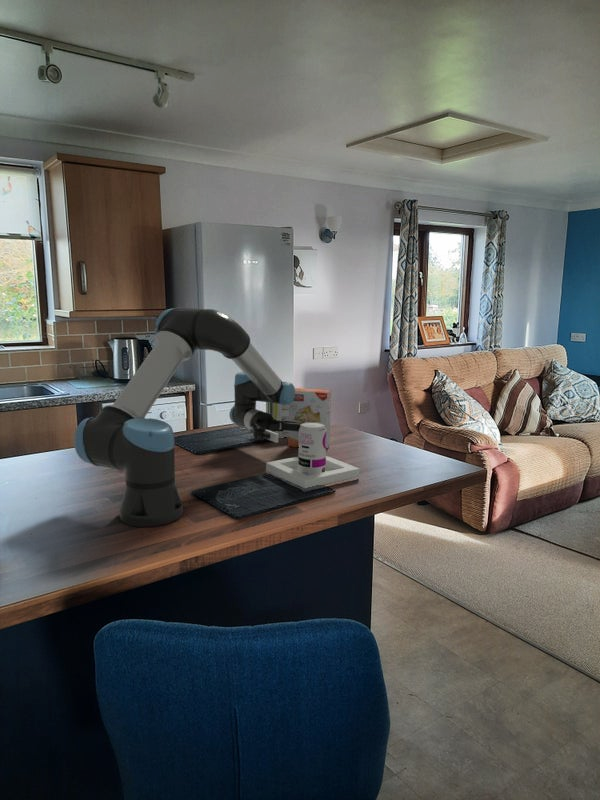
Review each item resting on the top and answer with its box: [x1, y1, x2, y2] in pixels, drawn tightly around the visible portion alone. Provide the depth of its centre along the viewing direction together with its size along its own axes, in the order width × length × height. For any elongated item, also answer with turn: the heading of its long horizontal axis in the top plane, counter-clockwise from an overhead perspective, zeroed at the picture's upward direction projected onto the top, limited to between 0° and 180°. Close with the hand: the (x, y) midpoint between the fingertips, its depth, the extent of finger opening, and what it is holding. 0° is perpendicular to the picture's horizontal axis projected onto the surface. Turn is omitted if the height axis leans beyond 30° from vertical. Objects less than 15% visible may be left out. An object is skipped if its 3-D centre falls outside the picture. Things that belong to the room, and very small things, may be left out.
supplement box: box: [265, 385, 300, 439], centre depth 221 cm, size 13×13×18 cm
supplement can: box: [297, 422, 327, 476], centre depth 170 cm, size 8×8×15 cm
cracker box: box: [287, 387, 332, 449], centre depth 202 cm, size 14×6×21 cm, turn 73°
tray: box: [265, 455, 360, 488], centre depth 171 cm, size 20×20×4 cm
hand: (295, 435), depth 176 cm, fingers open, 13 cm apart
